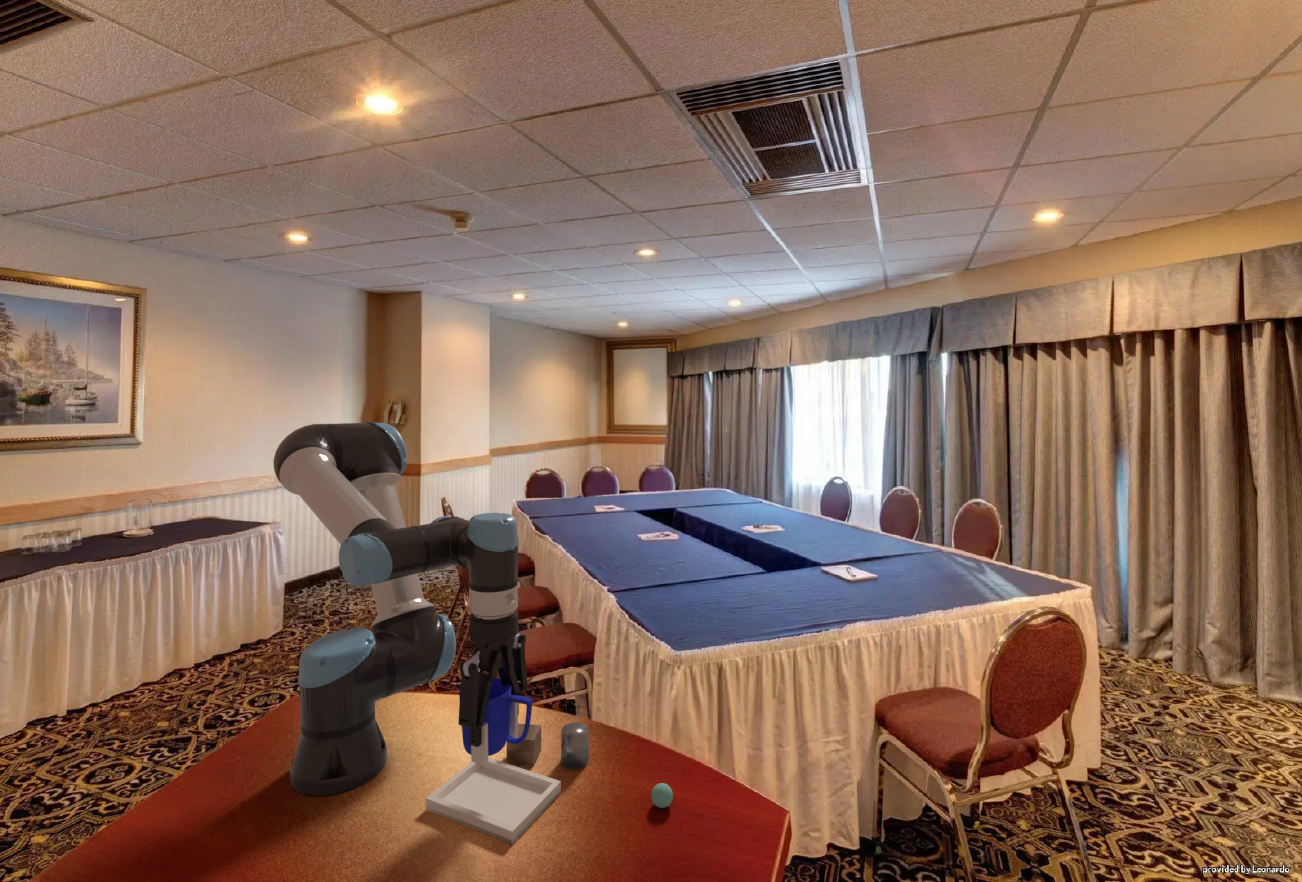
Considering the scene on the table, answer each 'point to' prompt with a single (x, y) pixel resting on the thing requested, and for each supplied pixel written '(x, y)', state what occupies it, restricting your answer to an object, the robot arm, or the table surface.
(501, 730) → the mug
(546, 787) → the tray
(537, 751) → the walnut block
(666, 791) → the ball
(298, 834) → the table surface
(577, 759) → the tin
